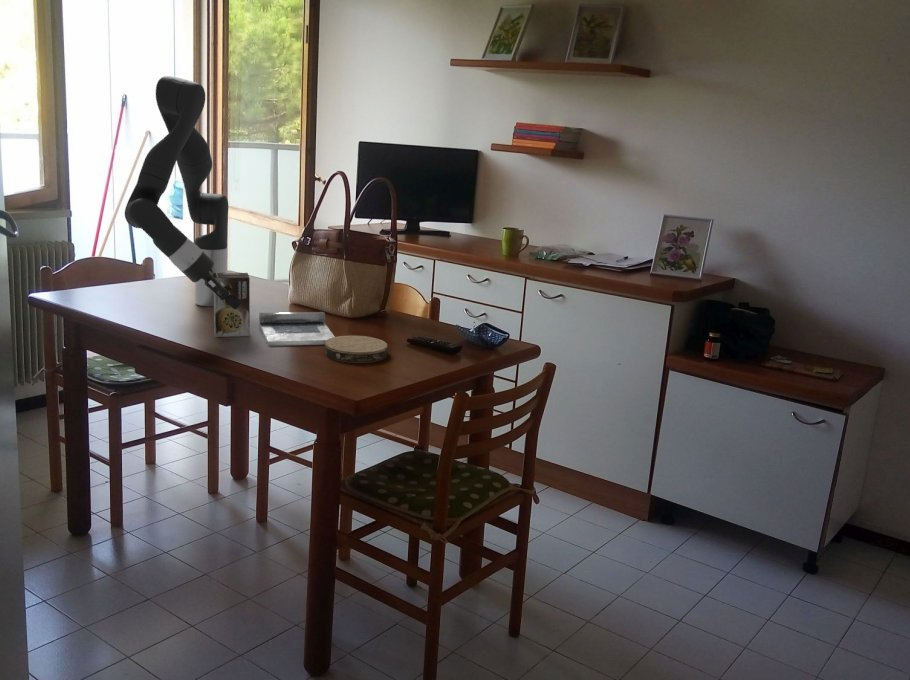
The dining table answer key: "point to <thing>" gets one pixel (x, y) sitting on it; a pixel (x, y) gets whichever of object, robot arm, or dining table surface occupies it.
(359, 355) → the beige tambourine
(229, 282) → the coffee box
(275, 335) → the hinge plate
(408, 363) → the dining table surface
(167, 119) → the robot arm
